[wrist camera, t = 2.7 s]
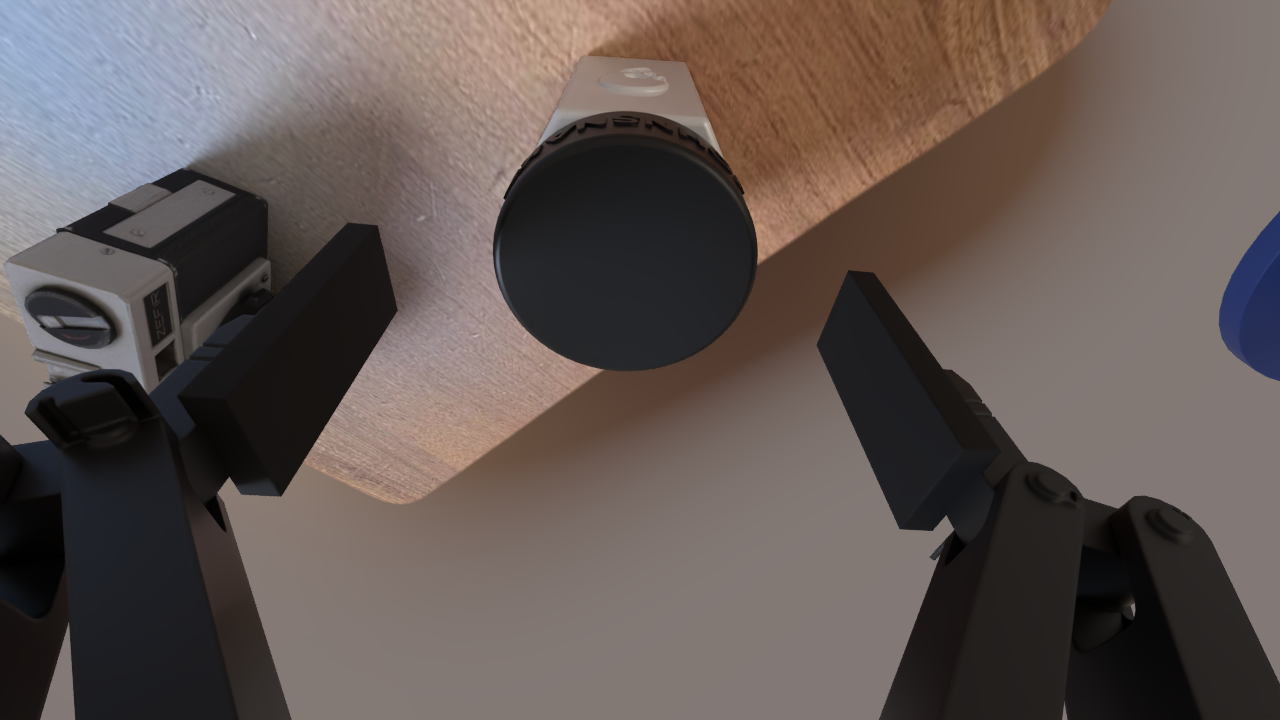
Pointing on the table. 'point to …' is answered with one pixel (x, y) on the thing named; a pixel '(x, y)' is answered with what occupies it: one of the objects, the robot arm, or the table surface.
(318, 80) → the table surface
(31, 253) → the camera
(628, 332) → the jar
